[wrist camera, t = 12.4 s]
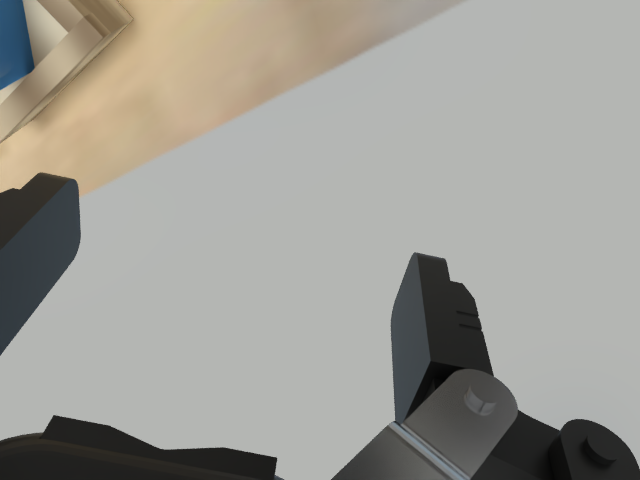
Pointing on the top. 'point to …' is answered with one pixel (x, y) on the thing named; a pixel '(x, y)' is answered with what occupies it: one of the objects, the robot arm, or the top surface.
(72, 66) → the square tray
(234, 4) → the top surface
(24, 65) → the perfume bottle
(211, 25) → the top surface
